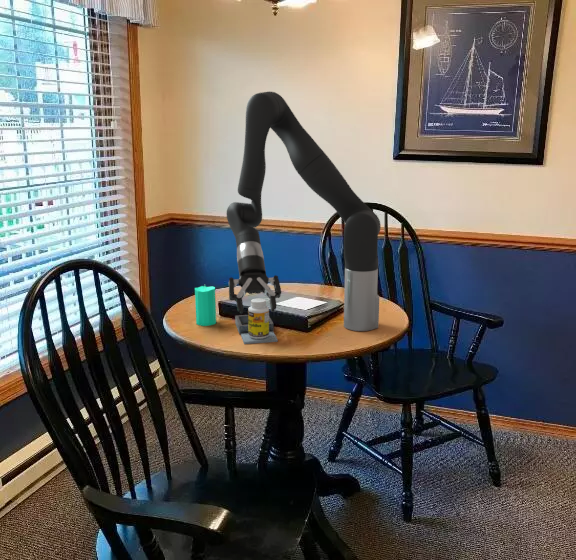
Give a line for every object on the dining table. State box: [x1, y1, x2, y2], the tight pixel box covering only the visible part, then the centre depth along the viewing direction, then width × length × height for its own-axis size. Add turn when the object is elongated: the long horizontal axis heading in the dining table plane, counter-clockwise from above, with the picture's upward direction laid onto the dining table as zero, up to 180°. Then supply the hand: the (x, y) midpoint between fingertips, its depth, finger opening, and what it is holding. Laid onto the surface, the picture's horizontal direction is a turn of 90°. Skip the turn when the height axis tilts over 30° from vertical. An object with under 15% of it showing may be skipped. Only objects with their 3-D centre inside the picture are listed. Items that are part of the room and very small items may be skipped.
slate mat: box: [240, 332, 278, 345], centre depth 160 cm, size 9×7×1 cm
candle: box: [194, 285, 217, 327], centre depth 173 cm, size 6×6×12 cm
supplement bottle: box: [247, 297, 270, 339], centre depth 159 cm, size 6×6×10 cm
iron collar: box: [234, 314, 275, 336], centre depth 169 cm, size 10×10×2 cm
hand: (257, 311), depth 160 cm, fingers open, 8 cm apart
